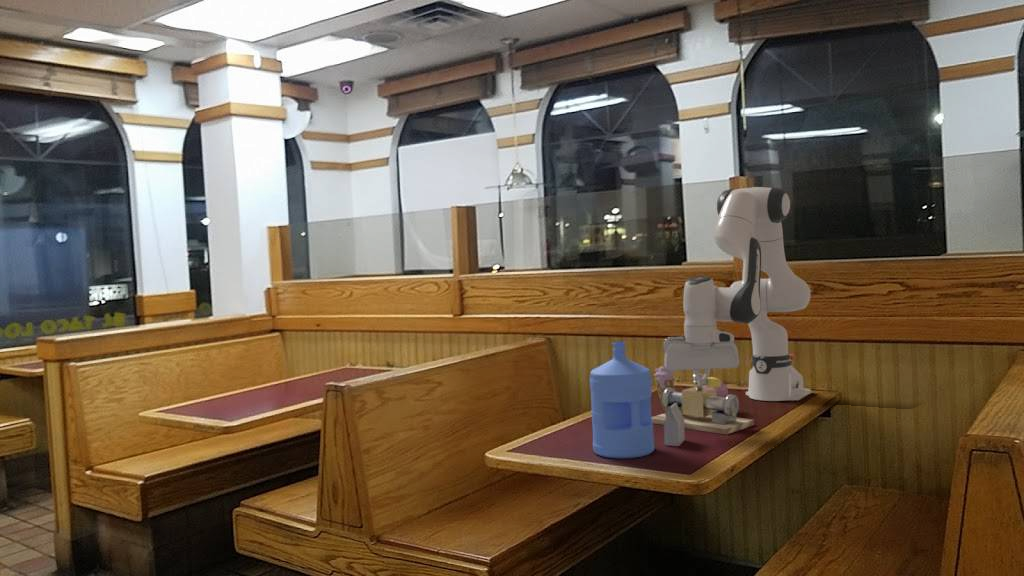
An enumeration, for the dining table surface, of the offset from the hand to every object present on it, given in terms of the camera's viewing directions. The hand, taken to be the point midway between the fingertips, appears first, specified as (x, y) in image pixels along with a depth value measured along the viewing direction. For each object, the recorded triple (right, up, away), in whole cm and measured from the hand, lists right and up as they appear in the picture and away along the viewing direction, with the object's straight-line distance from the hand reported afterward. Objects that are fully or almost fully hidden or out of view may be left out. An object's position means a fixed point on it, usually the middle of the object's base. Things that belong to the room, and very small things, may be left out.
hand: (702, 385), depth 231 cm
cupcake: (+9, -11, +24) cm, 28 cm away
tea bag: (-10, -14, -12) cm, 21 cm away
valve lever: (+2, 0, +3) cm, 4 cm away
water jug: (-24, -15, -18) cm, 34 cm away
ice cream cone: (-5, -12, +28) cm, 31 cm away
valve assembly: (+1, -12, +8) cm, 15 cm away
